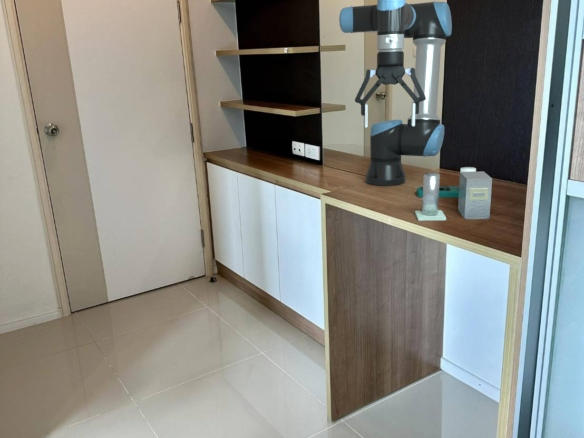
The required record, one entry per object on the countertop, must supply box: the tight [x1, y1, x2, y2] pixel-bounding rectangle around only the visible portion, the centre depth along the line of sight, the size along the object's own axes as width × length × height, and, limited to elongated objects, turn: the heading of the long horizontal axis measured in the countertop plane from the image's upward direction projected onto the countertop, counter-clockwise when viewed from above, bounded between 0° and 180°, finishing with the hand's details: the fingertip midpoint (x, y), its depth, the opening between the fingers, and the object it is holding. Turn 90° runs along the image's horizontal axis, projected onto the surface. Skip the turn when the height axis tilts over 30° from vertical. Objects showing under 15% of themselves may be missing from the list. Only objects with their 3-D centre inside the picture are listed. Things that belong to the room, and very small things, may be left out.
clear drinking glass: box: [421, 172, 441, 216], centre depth 159 cm, size 5×5×12 cm
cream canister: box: [459, 166, 477, 173], centre depth 169 cm, size 5×5×12 cm
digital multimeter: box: [416, 186, 459, 199], centre depth 185 cm, size 7×15×3 cm, turn 79°
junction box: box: [457, 170, 493, 220], centre depth 160 cm, size 11×7×12 cm, turn 174°
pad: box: [414, 209, 447, 222], centre depth 161 cm, size 8×8×1 cm
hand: (389, 126), depth 159 cm, fingers open, 13 cm apart
